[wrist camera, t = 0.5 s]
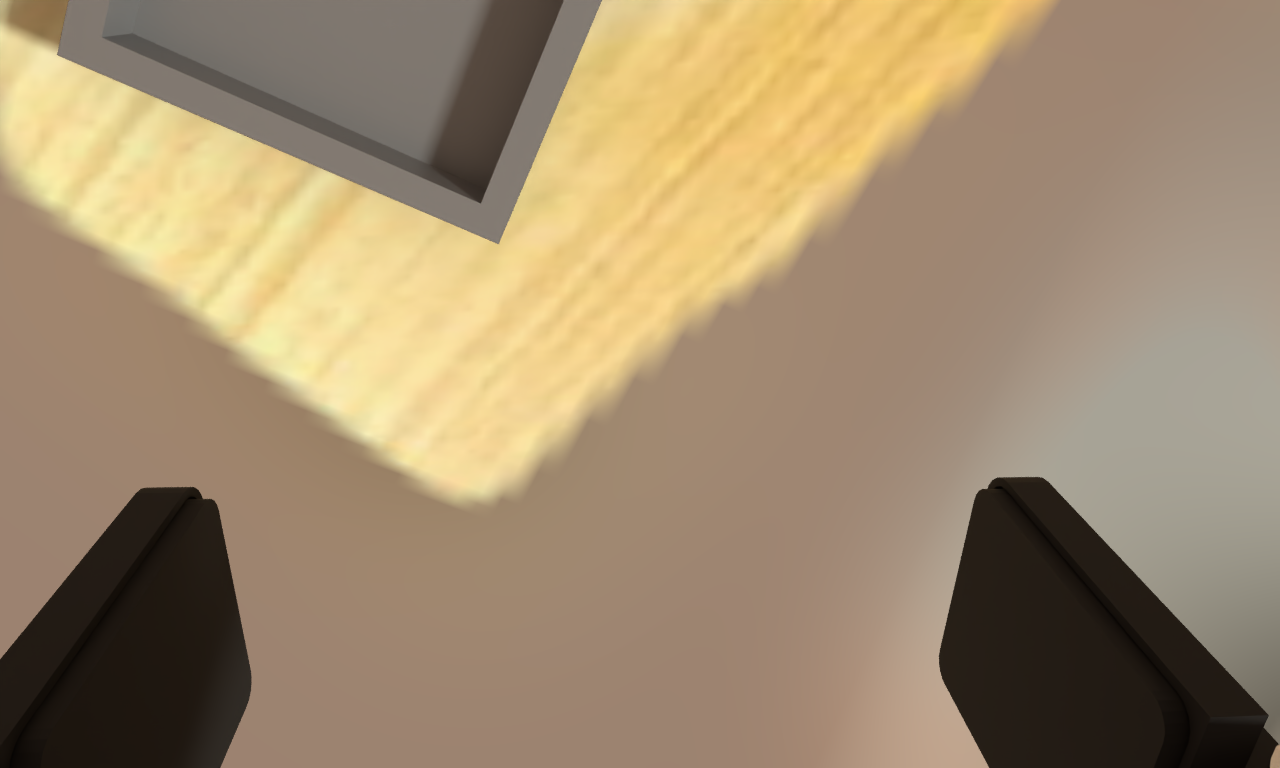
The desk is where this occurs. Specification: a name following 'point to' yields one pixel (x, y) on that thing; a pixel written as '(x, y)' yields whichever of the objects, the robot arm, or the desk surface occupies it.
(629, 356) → the desk surface
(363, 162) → the tray
